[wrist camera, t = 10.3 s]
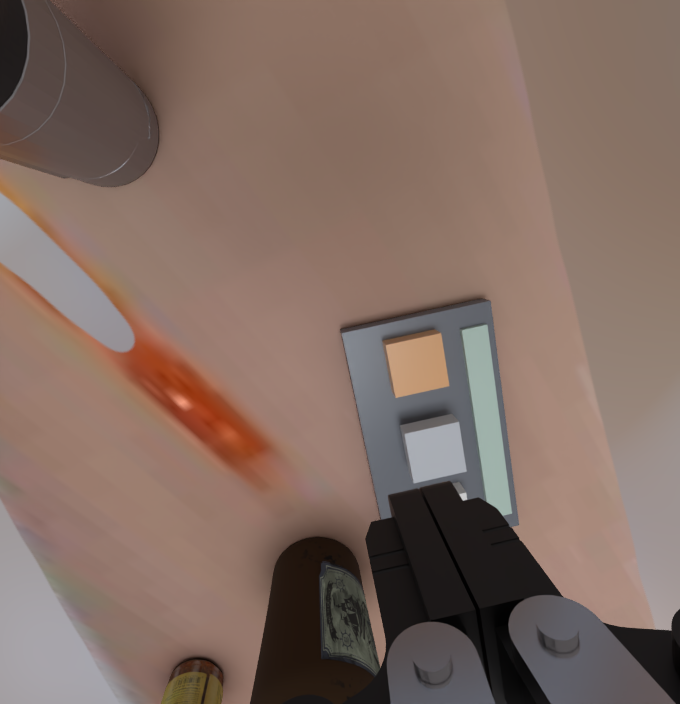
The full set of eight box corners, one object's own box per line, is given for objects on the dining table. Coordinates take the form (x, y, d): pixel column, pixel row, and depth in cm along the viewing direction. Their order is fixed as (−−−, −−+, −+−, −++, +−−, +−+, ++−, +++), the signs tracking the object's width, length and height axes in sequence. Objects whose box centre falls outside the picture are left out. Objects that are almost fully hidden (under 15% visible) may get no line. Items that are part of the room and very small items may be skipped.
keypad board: (385, 542, 47) (389, 558, 44) (340, 329, 41) (342, 334, 39) (510, 513, 47) (521, 528, 44) (481, 298, 41) (493, 301, 39)
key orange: (391, 391, 41) (395, 398, 39) (382, 340, 40) (385, 345, 38) (442, 379, 41) (449, 386, 39) (434, 329, 40) (441, 333, 38)
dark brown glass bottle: (316, 631, 49) (321, 1009, 24) (247, 576, 46) (176, 930, 22) (384, 571, 47) (461, 905, 23) (317, 512, 45) (324, 812, 21)
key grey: (408, 472, 41) (413, 483, 39) (399, 425, 40) (404, 434, 38) (459, 461, 41) (466, 471, 39) (451, 413, 40) (458, 421, 38)
